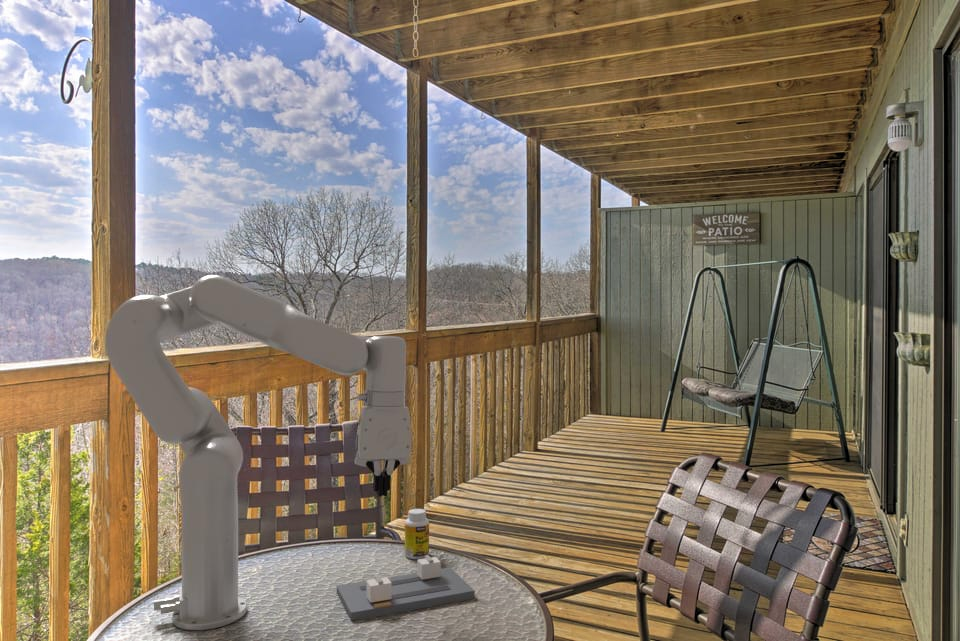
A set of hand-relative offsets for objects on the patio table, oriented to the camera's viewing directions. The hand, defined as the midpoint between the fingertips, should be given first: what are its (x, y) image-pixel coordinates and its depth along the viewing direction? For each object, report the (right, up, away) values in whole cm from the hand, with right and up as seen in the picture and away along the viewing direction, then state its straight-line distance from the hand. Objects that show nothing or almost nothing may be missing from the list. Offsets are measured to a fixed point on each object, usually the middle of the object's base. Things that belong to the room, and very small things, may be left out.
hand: (381, 494), depth 127 cm
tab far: (+9, -18, +7) cm, 21 cm away
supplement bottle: (+5, -20, +23) cm, 31 cm away
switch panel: (+4, -20, +1) cm, 21 cm away
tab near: (0, -18, -4) cm, 19 cm away
